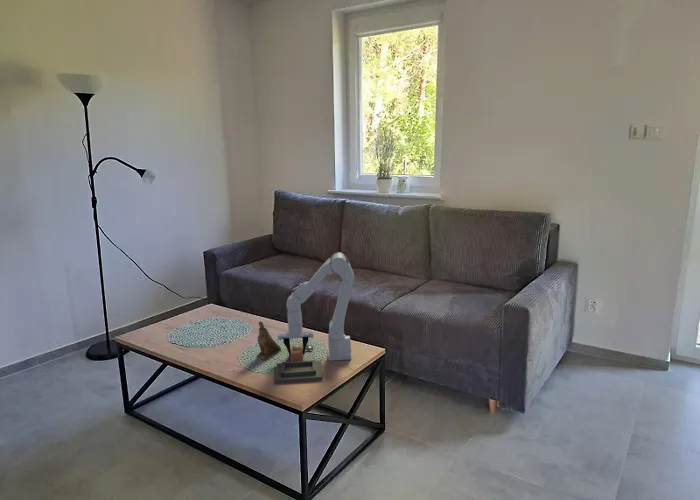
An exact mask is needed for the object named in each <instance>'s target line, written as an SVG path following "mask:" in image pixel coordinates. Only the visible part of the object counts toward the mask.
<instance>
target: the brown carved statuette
mask: <svg viewBox="0 0 700 500" xmlns="http://www.w3.org/2000/svg"><path fill="white" fill-rule="evenodd" d="M258 327H259V328H258V336H257V343H258V346H259V349H260V352H259V353H258V354H257V355H256V359H257V358H259V359H258V360H261V359H263V360H262V361H265V359H266V360H268V359H270V358H271V357H273V356H275V355H277V354H279V353H280V352H281V351H282V348H281V346H280V345H279V344H278V343H277V342H276V341H275V340H274V338H272V336H271V335H270V332H269V330H268V328H266V327H265V324H264V323H263V321H259V322H258ZM279 351H280V352H279ZM276 353H277V354H276ZM274 354H275V355H274ZM272 355H273V356H272ZM270 356H271V357H270ZM269 357H270V358H269ZM267 358H268V359H267Z"/></svg>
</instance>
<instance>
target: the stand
mask: <svg viewBox="0 0 700 500" xmlns="http://www.w3.org/2000/svg"><path fill="white" fill-rule="evenodd" d="M274 374H275V376H274V384H289V383H304V382H317V381H323V369H322V360H316V359H311V360H309V359H308V360H303V361H293V362H291V361H281V363H276V367H275V373H274Z"/></svg>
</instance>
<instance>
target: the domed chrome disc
mask: <svg viewBox="0 0 700 500" xmlns="http://www.w3.org/2000/svg"><path fill="white" fill-rule="evenodd" d="M305 350H307V351H306V352H311V351H310V350H312V351H314V345H313V344H307V345H306V348H305Z"/></svg>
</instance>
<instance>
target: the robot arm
mask: <svg viewBox="0 0 700 500" xmlns="http://www.w3.org/2000/svg"><path fill="white" fill-rule="evenodd" d="M334 273H336V274H338V276H340V278H341V284H340V287H339V290H338V291H339V293H338V296H337V300H336V305H335V309H334V313H333V314H332V315H333V316H332V318H331V319H330V321H329V323H328V328H329V330H328V336H327V337H328V338H327V341H328V343H327V344H328V346H327V347H328V351H327V359H328V361H347V360H352V347H351V345H352V343H351V337H350V335H346V334H345V331H344V330H345V329H344V327H345V326H344V325H345V319H346V314H347V310H348V306H349V302H350V297H351V293H352V289H353V285H354V281H355V273H354V270H353V268H352V265H351V263H350V259H348V257H347V256H346V255H345V254H344V253H343V252H340V251H339V252H334V253H333V254H332V255H331V257H329V258H328V259H327V260H326V261H325V262H324V263H323V264H322V265H321V266H320V267H319V268H318V270H317V271H316V272H315V273H314V274H313V275H312V277H311V278H309V280H308V281H303V282H302V283H301V282H300V283H299V284H298V287H297V289H296V290H295V291H294V292H291V294H290V295H289V296H288V297H287V300H286V303H285V304H286V309H287V324H288V325H287V328H288V330H287V331H288V332H283V333H278V334H277V338H278V341H281V340H283V344H284V345H285V347H286V351H288V355H289V356H290V357H291V339H302V346H303V356H304V355H305V353H306V351H305V348H306V345H308V343H309V338H311V339H313V338H314V331H303V319H302V318H303V317H302V310H301V305H302V304H303V303H305V302H306V301H307V299H309V298H310V297H311V295H312V294H313V293H314V292H315V286H317V285H318V284H319V283H320V282H321V281H322V279H324V278H325V277H327V275H333V274H334Z"/></svg>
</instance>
